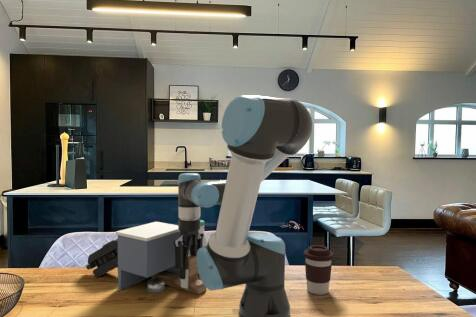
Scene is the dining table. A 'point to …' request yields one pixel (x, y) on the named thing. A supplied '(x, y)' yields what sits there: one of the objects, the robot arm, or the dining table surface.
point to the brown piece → (193, 282)
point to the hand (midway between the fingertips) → (189, 285)
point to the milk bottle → (205, 240)
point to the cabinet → (146, 252)
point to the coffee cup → (318, 269)
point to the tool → (104, 258)
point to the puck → (155, 285)
